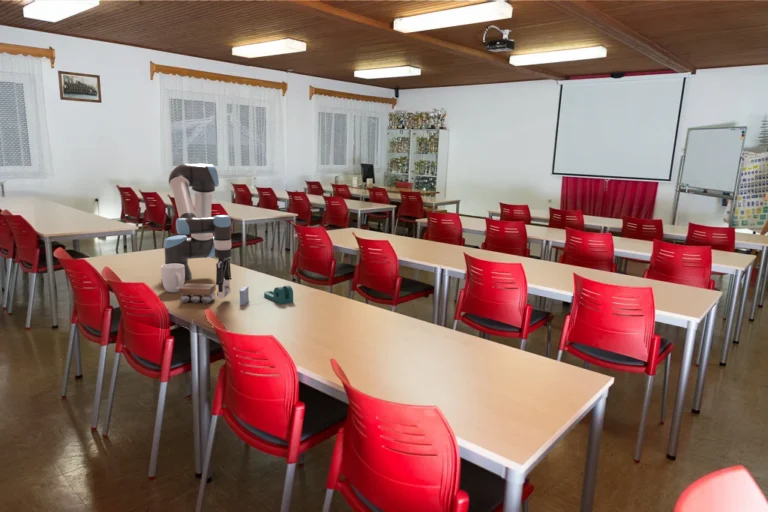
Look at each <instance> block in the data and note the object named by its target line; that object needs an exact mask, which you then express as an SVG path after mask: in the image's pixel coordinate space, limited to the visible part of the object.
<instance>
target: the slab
mask: <svg viewBox="0 0 768 512" xmlns="http://www.w3.org/2000/svg"><path fill="white" fill-rule="evenodd" d="M215 291H216V283H215V284H213V283H212V284H211V283H184V285H183V286H182V287H180V288H179V292H178V294H179V295H181V296H182V295H211V294H212V293H213V292H214V293H215Z"/></svg>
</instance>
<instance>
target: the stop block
mask: <svg viewBox="0 0 768 512" xmlns="http://www.w3.org/2000/svg"><path fill="white" fill-rule="evenodd" d="M248 302H249V286H248V285H247V286H246V285H245V286H243V287H241V289H240V290H239V306H245V305H246V304H247V303H248Z"/></svg>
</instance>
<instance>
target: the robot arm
mask: <svg viewBox="0 0 768 512" xmlns="http://www.w3.org/2000/svg"><path fill="white" fill-rule="evenodd" d="M168 185H169V188H170V190H171V191H172V193H173V198H174V202H175V206H176V211H177V213H178V214H177V215H178V218H176V220H175V228H176V233H177V234H178V235H173V236H172V235H171V236H169V237H167V238H165V239H164V242H163V245H164V246H163V249H164V265H165V264H174V263H176V264H183V265H184V266H185V281H187V280H190V279H192V277H193V274H192V271H191V269H190V266H189V263H188V262H189V260H190V259H204V258H205V259H207V258H212V257H215V258H218V261H217V263H216V264H215V265H216V266H215V267H216V268H215V269H216V272H215V275H216V277H215V278H216V281H215V286H217V293H218V296H217V299H221V298H222V299H225V298H226V297H225V295H224V286H228V287H230V288H231V280H232V273H231V272H232V271H231V257H232V249H231V248H232V227H231V226H232V222H231V216H230V215H227V214H220V215H219V214H217V215H213V216H212V198H213V197H212V195H213V193H214V192H215V191H216V188H217V187H219V185H220V182H219V174H218V170H217V167H216V166H215V165H214V164H208V163H181V164H179V165H178V166H177V165H176V166H175V168H174V169H172V170H171V172H170V174H169V176H168ZM190 187H191V190H192V191H193V192H194V204H193V199H192V197H191V192H190ZM187 235H190V236H191V237H188V236H187ZM188 259H189V260H188Z"/></svg>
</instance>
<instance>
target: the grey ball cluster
mask: <svg viewBox="0 0 768 512" xmlns="http://www.w3.org/2000/svg"><path fill="white" fill-rule="evenodd" d="M215 297H216V293H215V291H214V292H213V293H212V294H211V295H181V296H180V298H179V301H180V302H181V303H182V304H186V303H189V301H190V302H191V304H192V303H193V304H198V303H200V302H202V303H203V304H204V305H207V304H209V303H210V302H212V301H213V300H214V299H215Z"/></svg>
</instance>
